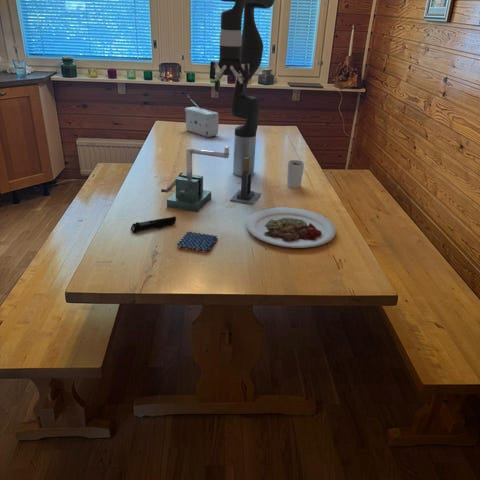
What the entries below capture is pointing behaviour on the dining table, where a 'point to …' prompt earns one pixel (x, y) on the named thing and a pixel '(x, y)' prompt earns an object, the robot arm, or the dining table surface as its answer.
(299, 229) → the plated food
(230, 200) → the slate pad
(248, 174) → the brown and black post
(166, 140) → the dining table surface
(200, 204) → the vise
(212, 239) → the woven mat
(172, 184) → the tomahawk
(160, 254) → the dining table surface
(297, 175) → the grey cup
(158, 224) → the electric trimmer
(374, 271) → the dining table surface
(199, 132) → the stereo radio cassette player
